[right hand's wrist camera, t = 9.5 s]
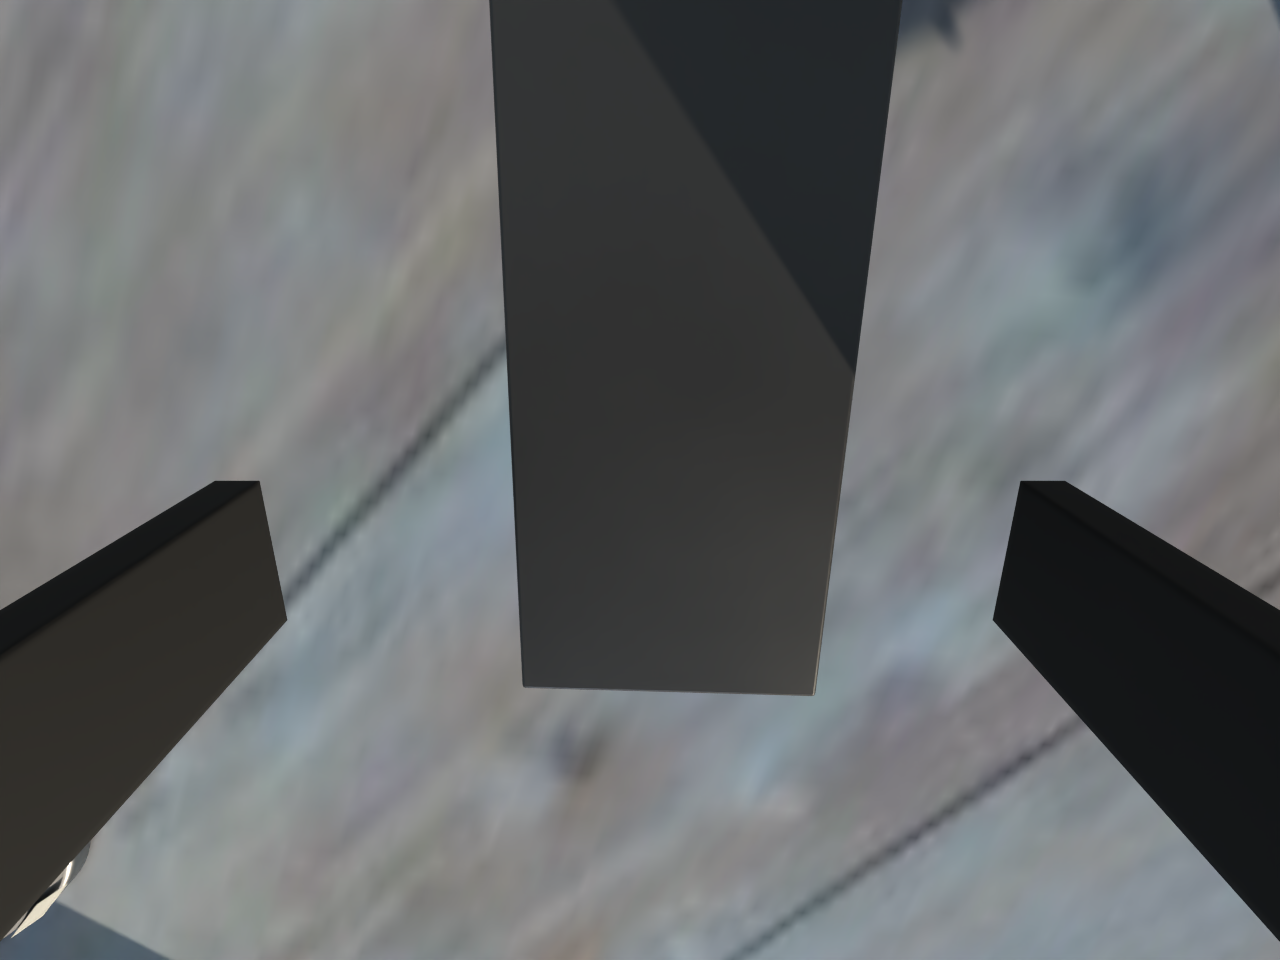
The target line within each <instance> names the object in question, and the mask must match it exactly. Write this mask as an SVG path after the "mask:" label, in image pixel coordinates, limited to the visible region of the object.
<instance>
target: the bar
mask: <svg viewBox="0 0 1280 960" xmlns="http://www.w3.org/2000/svg"><path fill="white" fill-rule="evenodd" d="M489 4H490V24H491V45H492V65H493V86H494V106H495V127H496V148H497V168H498V189H499V209H500V230H501V250H502V271H503V291H504V312H505V333H506V353H507V374H508V394H509V415H510V435H511V456H512V476H513V497H514V517H515V538H516V559H517V579H518V600H519V620H520V641H521V661H522V682H523V686H524V687H525V688H553V689H588V690H623V691H658V692H693V693H728V694H764V695H799V696H813V695H814V694H815V691H816V683H817V675H818V667H819V659H820V651H821V643H822V635H823V627H824V619H825V611H826V603H827V595H828V587H829V579H830V571H831V563H832V556H833V548H834V540H835V532H836V524H837V516H838V508H839V500H840V492H841V484H842V476H843V468H844V460H845V452H846V444H847V436H848V428H849V420H850V413H851V405H852V397H853V389H854V381H855V373H856V365H857V357H858V349H859V341H860V333H861V325H862V317H863V309H864V301H865V293H866V285H867V277H868V270H869V262H870V254H871V246H872V238H873V230H874V222H875V214H876V206H877V198H878V190H879V182H880V174H881V166H882V158H883V150H884V142H885V134H886V127H887V119H888V111H889V103H890V95H891V87H892V79H893V71H894V63H895V55H896V47H897V39H898V31H899V23H900V15H901V7H902V0H489Z"/></svg>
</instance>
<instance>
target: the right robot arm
mask: <svg viewBox="0 0 1280 960" xmlns="http://www.w3.org/2000/svg"><path fill="white" fill-rule="evenodd" d="M286 621H287V616H286V611H285V606H284V601H283V596H282V591H281V586H280V581H279V576H278V571H277V566H276V561H275V556H274V551H273V546H272V541H271V536H270V531H269V526H268V521H267V516H266V511H265V506H264V501H263V496H262V491H261V486H260V481H214V482H212V483H211V484H209V485H207V486H206V487H204V488H202V489H201V490H199V491H197V492H196V493H194V494H192V495H191V496H189V497H187V498H186V499H184V500H183V501H181V502H179V503H178V504H176V505H174V506H173V507H171V508H169V509H168V510H166V511H164V512H163V513H161V514H159V515H158V516H156V517H154V518H153V519H151V520H149V521H148V522H146V523H144V524H143V525H141V526H139V527H138V528H136V529H134V530H133V531H131V532H129V533H128V534H126V535H124V536H123V537H121V538H119V539H118V540H116V541H114V542H113V543H111V544H109V545H108V546H106V547H104V548H103V549H101V550H100V551H98V552H96V553H95V554H93V555H91V556H90V557H88V558H86V559H85V560H83V561H81V562H80V563H78V564H76V565H75V566H73V567H71V568H70V569H68V570H66V571H65V572H63V573H61V574H60V575H58V576H56V577H55V578H53V579H51V580H50V581H48V582H46V583H45V584H43V585H41V586H40V587H38V588H36V589H35V590H33V591H31V592H30V593H28V594H26V595H25V596H23V597H21V598H20V599H18V600H17V601H15V602H13V603H12V604H10V605H8V606H7V607H5V608H3V609H2V610H0V941H1V940H2V939H3V938H4V937H6V936H7V935H9V934H10V933H11V932H13V931H14V930H16V929H18V930H17V931H16V932H15V934H14V935H13V936H15V935H16V934H18V933H19V932H21V931H22V930H23V929H25V928H26V927H28V926H29V925H31V924H32V923H34V922H35V921H36V920H38V919H39V918H41V917H42V916H43V915H44V914H45V912H46V911H47V910H48V908H49V907H50V906H51V905H52V903H53V902H54V901H55V899H56V898H57V897H58V896H59V895H60V893H61V892H62V891H63V890H64V889H65V888H66V887H67V885H68V884H69V883H70V882H71V881H72V880H73V879H74V878H75V876H76V875H77V874H78V873H79V871H80V870H81V868H82V866H83V865H84V863H85V861H86V858H87V855H88V852H89V847H90V840H91V839H92V838H93V837H94V836H95V835H96V834H97V833H98V831H99V830H100V829H101V828H102V827H103V826H104V825H105V824H106V822H107V821H108V820H109V819H110V818H111V817H112V816H113V815H114V814H115V812H116V811H117V810H118V809H119V808H120V807H121V806H122V805H123V803H124V802H125V801H126V800H127V799H128V798H129V797H130V796H131V794H132V793H133V792H134V791H135V790H136V789H137V788H138V787H139V786H140V784H141V783H142V782H143V781H144V780H145V779H146V778H147V777H148V775H149V774H150V773H151V772H152V771H153V770H154V769H155V768H156V766H157V765H158V764H159V763H160V762H161V761H162V760H163V759H164V758H165V756H166V755H167V754H168V753H169V752H170V751H171V750H172V749H173V747H174V746H175V745H176V744H177V743H178V742H179V741H180V740H181V738H182V737H183V736H184V735H185V734H186V733H187V732H188V731H189V730H190V728H191V727H192V726H193V725H194V724H195V723H196V722H197V721H198V719H199V718H200V717H201V716H202V715H203V714H204V713H205V712H206V710H207V709H208V708H209V707H210V706H211V705H212V704H213V703H214V702H215V700H216V699H217V698H218V697H219V696H220V695H221V694H222V693H223V691H224V690H225V689H226V688H227V687H228V686H229V685H230V684H231V682H232V681H233V680H234V679H235V678H236V677H237V676H238V675H239V674H240V672H241V671H242V670H243V669H244V668H245V667H246V666H247V665H248V663H249V662H250V661H251V660H252V659H253V658H254V657H255V656H256V654H257V653H258V652H259V651H260V650H261V649H262V648H263V647H264V646H265V644H266V643H267V642H268V641H269V640H270V639H271V638H272V637H273V635H274V634H275V633H276V632H277V631H278V630H279V629H280V628H281V626H282V625H283V624H284V623H285V622H286ZM993 621H994V622H995V623H996V624H997V625H998V626H999V628H1000V629H1001V630H1002V631H1003V632H1004V633H1005V634H1006V635H1007V637H1008V638H1009V639H1010V640H1011V641H1012V642H1013V643H1014V644H1015V646H1016V647H1017V648H1018V649H1019V650H1020V651H1021V652H1022V653H1023V654H1024V656H1025V657H1026V658H1027V659H1028V660H1029V661H1030V662H1031V663H1032V665H1033V666H1034V667H1035V668H1036V669H1037V670H1038V671H1039V672H1040V674H1041V675H1042V676H1043V677H1044V678H1045V679H1046V680H1047V681H1048V682H1049V684H1050V685H1051V686H1052V687H1053V688H1054V689H1055V690H1056V691H1057V693H1058V694H1059V695H1060V696H1061V697H1062V698H1063V699H1064V700H1065V702H1066V703H1067V704H1068V705H1069V706H1070V707H1071V708H1072V709H1073V710H1074V712H1075V713H1076V714H1077V715H1078V716H1079V717H1080V718H1081V719H1082V721H1083V722H1084V723H1085V724H1086V725H1087V726H1088V727H1089V728H1090V730H1091V731H1092V732H1093V733H1094V734H1095V735H1096V736H1097V737H1098V738H1099V740H1100V741H1101V742H1102V743H1103V744H1104V745H1105V746H1106V747H1107V749H1108V750H1109V751H1110V752H1111V753H1112V754H1113V755H1114V756H1115V758H1116V759H1117V760H1118V761H1119V762H1120V763H1121V764H1122V765H1123V766H1124V768H1125V769H1126V770H1127V771H1128V772H1129V773H1130V774H1131V775H1132V777H1133V778H1134V779H1135V780H1136V781H1137V782H1138V783H1139V784H1140V786H1141V787H1142V788H1143V789H1144V790H1145V791H1146V792H1147V793H1148V794H1149V796H1150V797H1151V798H1152V799H1153V800H1154V801H1155V802H1156V803H1157V805H1158V806H1159V807H1160V808H1161V809H1162V810H1163V811H1164V812H1165V814H1166V815H1167V816H1168V817H1169V818H1170V819H1171V820H1172V821H1173V822H1174V824H1175V825H1176V826H1177V827H1178V828H1179V829H1180V830H1181V831H1182V833H1183V834H1184V835H1185V836H1186V837H1187V838H1188V839H1189V840H1190V842H1191V843H1192V844H1193V845H1194V846H1195V847H1196V848H1197V849H1198V850H1199V852H1200V853H1201V854H1202V855H1203V856H1204V857H1205V858H1206V859H1207V861H1208V862H1209V863H1210V864H1211V865H1212V866H1213V867H1214V868H1215V870H1216V871H1217V872H1218V873H1219V874H1220V875H1221V876H1222V877H1223V878H1224V880H1225V881H1226V882H1227V883H1228V884H1229V885H1230V886H1231V887H1232V889H1233V890H1234V891H1235V892H1236V893H1237V894H1238V895H1239V896H1240V898H1241V899H1242V900H1243V901H1244V902H1245V903H1246V904H1247V905H1248V907H1249V908H1250V909H1251V910H1252V911H1253V912H1254V913H1255V914H1256V915H1257V917H1258V918H1259V919H1260V920H1261V921H1262V922H1263V923H1264V924H1265V926H1266V927H1267V928H1268V929H1269V930H1270V931H1271V932H1272V933H1273V935H1274V936H1275V937H1276V938H1277V939H1278V940H1279V941H1280V610H1278V609H1277V608H1275V607H1273V606H1272V605H1270V604H1268V603H1267V602H1265V601H1263V600H1262V599H1260V598H1259V597H1257V596H1255V595H1254V594H1252V593H1250V592H1249V591H1247V590H1245V589H1244V588H1242V587H1240V586H1239V585H1237V584H1235V583H1234V582H1232V581H1230V580H1229V579H1227V578H1225V577H1224V576H1222V575H1220V574H1219V573H1217V572H1215V571H1214V570H1212V569H1210V568H1209V567H1207V566H1205V565H1204V564H1202V563H1200V562H1199V561H1197V560H1195V559H1194V558H1192V557H1190V556H1189V555H1187V554H1185V553H1184V552H1182V551H1180V550H1179V549H1177V548H1176V547H1174V546H1172V545H1171V544H1169V543H1167V542H1166V541H1164V540H1162V539H1161V538H1159V537H1157V536H1156V535H1154V534H1152V533H1151V532H1149V531H1147V530H1146V529H1144V528H1142V527H1141V526H1139V525H1137V524H1136V523H1134V522H1132V521H1131V520H1129V519H1127V518H1126V517H1124V516H1122V515H1121V514H1119V513H1117V512H1116V511H1114V510H1112V509H1111V508H1109V507H1107V506H1106V505H1104V504H1102V503H1101V502H1099V501H1097V500H1096V499H1094V498H1093V497H1091V496H1089V495H1088V494H1086V493H1084V492H1083V491H1081V490H1079V489H1078V488H1076V487H1074V486H1073V485H1071V484H1069V483H1068V482H1066V481H1020V486H1019V491H1018V496H1017V501H1016V506H1015V511H1014V516H1013V521H1012V526H1011V531H1010V536H1009V541H1008V546H1007V551H1006V556H1005V561H1004V566H1003V571H1002V576H1001V581H1000V586H999V591H998V596H997V601H996V606H995V611H994V616H993ZM13 936H12V937H13Z"/></svg>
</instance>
